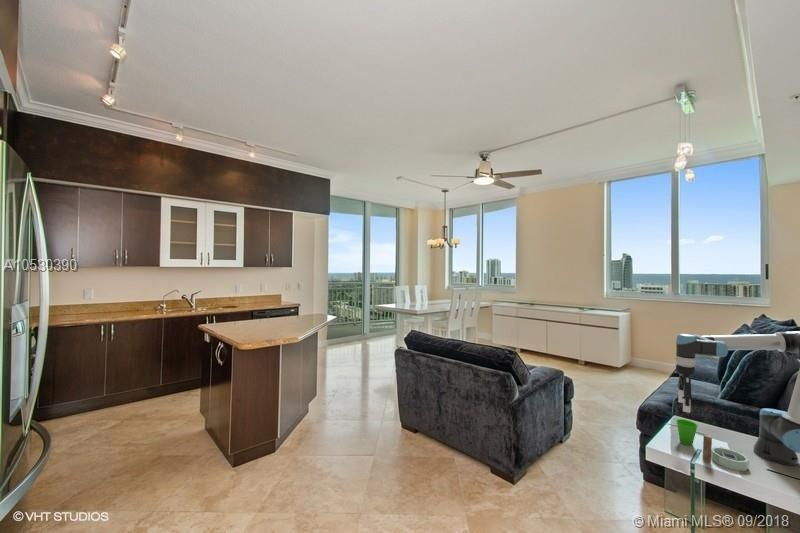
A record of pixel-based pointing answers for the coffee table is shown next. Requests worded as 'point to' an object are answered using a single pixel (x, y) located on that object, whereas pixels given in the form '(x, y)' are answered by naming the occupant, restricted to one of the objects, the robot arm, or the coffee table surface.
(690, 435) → the cup
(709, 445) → the block
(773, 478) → the coffee table surface
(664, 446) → the coffee table surface
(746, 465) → the pale green round dish
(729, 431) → the coffee table surface
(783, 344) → the robot arm
